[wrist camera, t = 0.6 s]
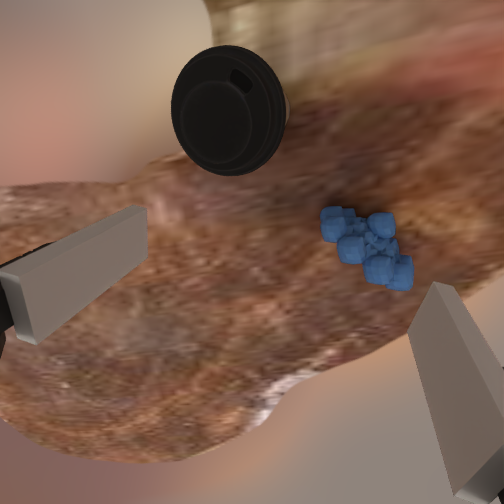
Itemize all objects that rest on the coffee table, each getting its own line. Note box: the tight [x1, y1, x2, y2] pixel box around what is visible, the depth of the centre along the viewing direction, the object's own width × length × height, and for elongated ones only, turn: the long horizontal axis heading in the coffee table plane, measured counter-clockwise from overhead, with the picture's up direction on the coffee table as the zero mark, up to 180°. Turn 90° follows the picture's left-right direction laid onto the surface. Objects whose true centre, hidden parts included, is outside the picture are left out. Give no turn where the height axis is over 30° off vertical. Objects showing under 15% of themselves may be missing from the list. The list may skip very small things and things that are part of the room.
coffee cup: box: [171, 45, 290, 176], centre depth 29 cm, size 9×9×15 cm
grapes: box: [320, 206, 414, 291], centre depth 32 cm, size 12×7×12 cm, turn 62°
